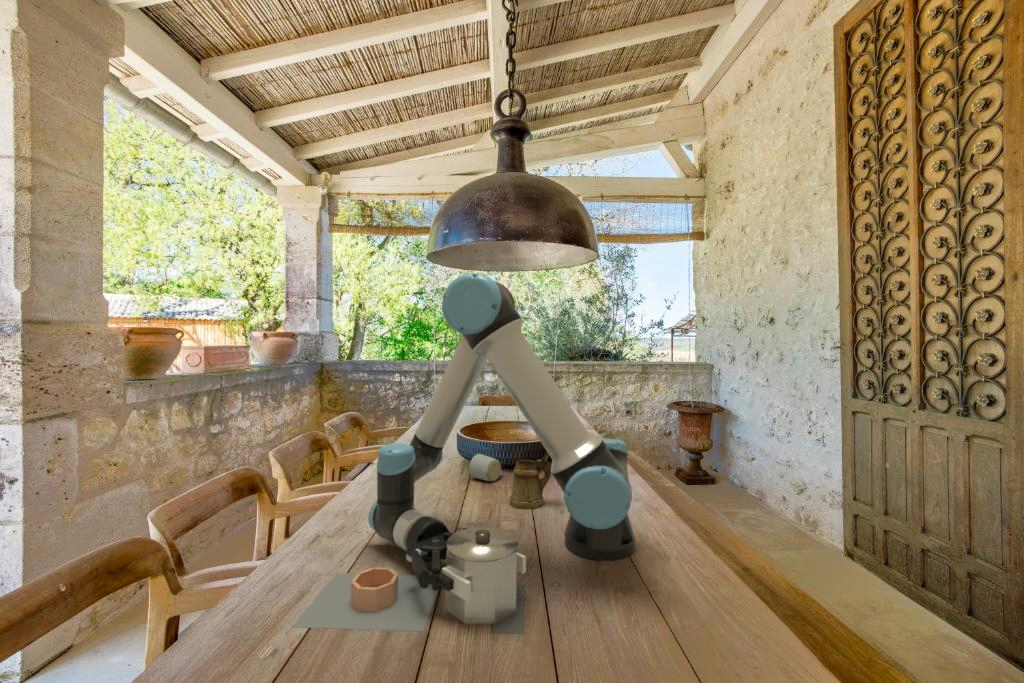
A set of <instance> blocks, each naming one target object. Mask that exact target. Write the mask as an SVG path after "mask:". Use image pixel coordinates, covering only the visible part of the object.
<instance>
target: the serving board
mask: <svg viewBox="0 0 1024 683" xmlns="http://www.w3.org/2000/svg"><path fill="white" fill-rule="evenodd" d="M356 575H357V573H353V572H352V573H351V572H350V573H348V572H335V574H334V575H333V577H331V579H330V580H329V581H328V582H327V584H326V585H325V586H324V587H323V588H322V590H321V591H320V592H319V593H318V594H317V596H315V598H314V600H312V601H311V603H310V604H309V605H308V606H307V607H306V609H305V610H304V611H303V612H302V614H301V615H299V617H298V618H297V619H296V620H295V622H294V623H293V624H292V625H291V628H306V629H307V628H308V629H329V630H331V629H335V630H362V631H363V630H364V631H365V630H367V631H392V632H397V631H399V632H421V633H422V632H424V629H425V628H426V624H427V622H428V619H429V616H430V614H431V611H432V609H433V606H434V603H435V600H436V598H437V595H438V592H439V590H437V591H434V590H433V589H432V584H428V587H427V588H425V589H424V588H421V587H420V585H419V582H418V580H417V578H416V576H415V574H398V596H397V598H396V600H395V602H394V604H393V605H391V606H388V607H386V608H384V609H381V610H379V611H377V612H374V611H358V610H357V609H356V608H355V607H354V606H353V605H352V604H351V581H352V580H353V579H354V577H355V576H356Z"/></svg>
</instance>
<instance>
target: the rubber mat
mask: <svg viewBox="0 0 1024 683" xmlns="http://www.w3.org/2000/svg"><path fill="white" fill-rule="evenodd" d="M525 595H526V583H516V614H515V615H513V616H512V617H510V618H508V619H507V620H505V621H503V622H502V623H500V624H498V625H496V626H495V627H491V626H490V631H489V633H490V634H508V635H509V634H511V635H524V634H525V633H524V632H525V605H526V604H525V602H526V598H525V597H526V596H525Z"/></svg>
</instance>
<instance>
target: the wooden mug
mask: <svg viewBox="0 0 1024 683" xmlns="http://www.w3.org/2000/svg"><path fill="white" fill-rule="evenodd" d="M549 456H550V455H549V454H548V452H547V451H546V454H545V455H544V456H543V457H542V458H540V459H536V461H535V460H532V459H520V460H516V461H515V466H514V467H513V468H514V469H513V474H514V475H513V481H512V491H511V495H510V497H509V498H510V499H509V505H510V506H512V507H513V508H516V509H520V508H521V509H520V510H531V509H537V508H539V506H540V507H541V506H542V505H543V504H544V502H545V501H544V497H543V496H544V495H543V490H544V489H545V487H546V485H547V484H548V483H549V481H550V478H551V475H552V473H551V465H550V463H549V460H548V458H550V457H549ZM541 470H542V471H543V472H544V475H543V477H542V478H540V474H541V473H542V472H541ZM522 508H523V509H522Z"/></svg>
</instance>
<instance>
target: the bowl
mask: <svg viewBox="0 0 1024 683" xmlns="http://www.w3.org/2000/svg"><path fill="white" fill-rule="evenodd" d="M356 574H357V575H356V576H355V577H354V579H353V580H352V581H351V604H352V605H353V606H354V607H355V608H356V609H357V610H358V611H374V612H377V611H379V610H381V609H384V608H386V607H388V606H391V605H393V604H394V602H395V600H396V598H397V596H398V575H399V573H398V572H396V571H395V570H393V569H392V568H391V567H380V566H379V567H370V568H368V569H365V570H363V571H359V572H357V573H356Z"/></svg>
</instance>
